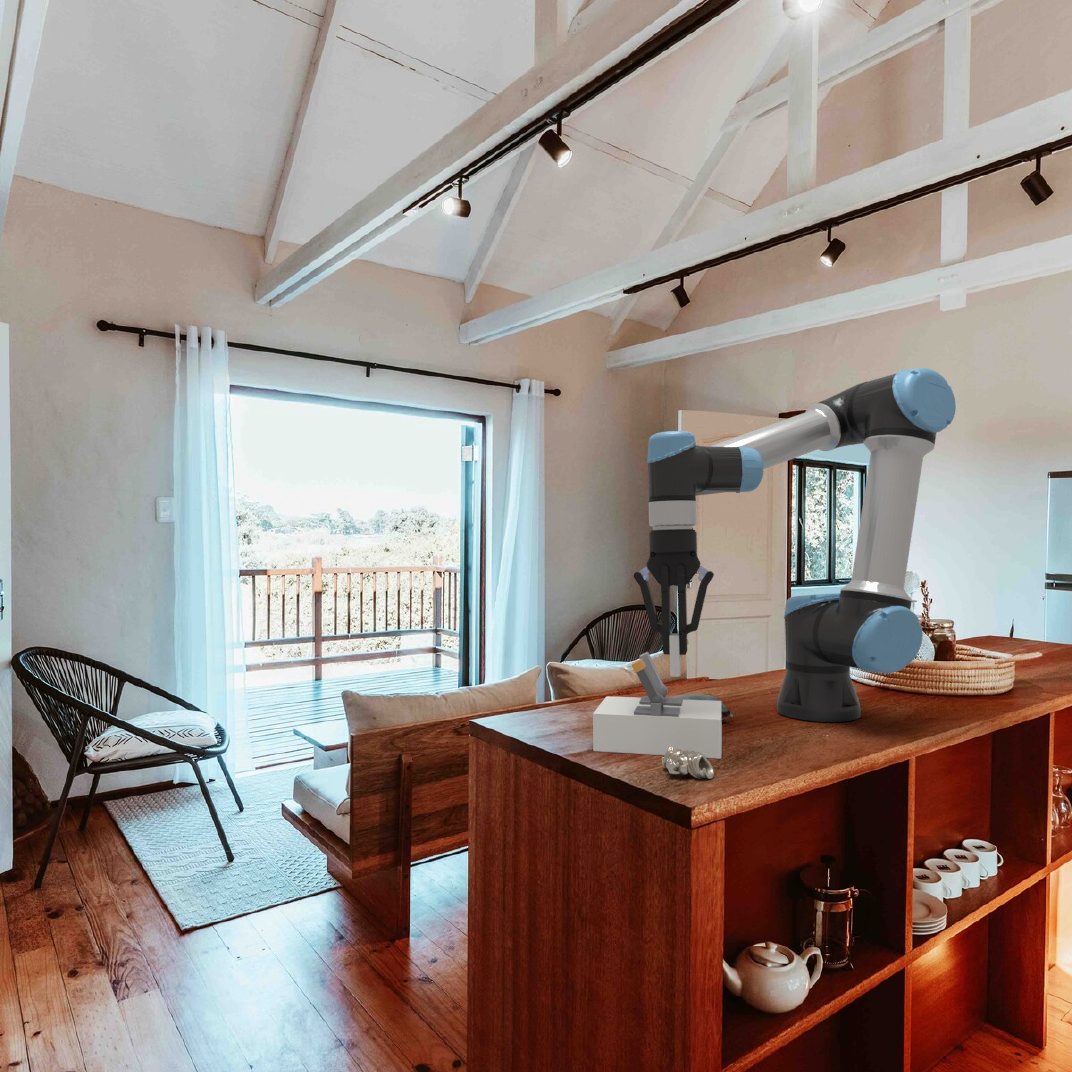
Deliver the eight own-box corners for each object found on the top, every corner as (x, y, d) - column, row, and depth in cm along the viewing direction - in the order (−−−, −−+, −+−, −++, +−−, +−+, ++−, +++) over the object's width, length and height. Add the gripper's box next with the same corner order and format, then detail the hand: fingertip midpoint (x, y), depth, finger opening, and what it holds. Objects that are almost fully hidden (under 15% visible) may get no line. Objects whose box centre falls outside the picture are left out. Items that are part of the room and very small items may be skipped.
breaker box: (721, 735, 128) (720, 652, 129) (721, 758, 115) (720, 664, 115) (606, 729, 133) (605, 649, 133) (593, 751, 120) (592, 661, 120)
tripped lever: (666, 702, 121) (643, 657, 122) (664, 706, 119) (641, 660, 120) (655, 707, 122) (632, 662, 123) (653, 711, 119) (630, 665, 120)
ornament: (648, 774, 108) (648, 749, 108) (677, 765, 113) (677, 740, 113) (693, 787, 102) (693, 761, 102) (722, 777, 107) (722, 751, 107)
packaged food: (660, 715, 144) (660, 690, 144) (720, 714, 145) (720, 689, 145) (670, 727, 136) (670, 700, 136) (734, 726, 136) (734, 699, 136)
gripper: (714, 527, 122) (717, 672, 122) (635, 529, 125) (637, 669, 125) (713, 527, 115) (716, 680, 114) (629, 529, 118) (631, 678, 118)
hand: (675, 674), depth 120 cm, fingers closed
